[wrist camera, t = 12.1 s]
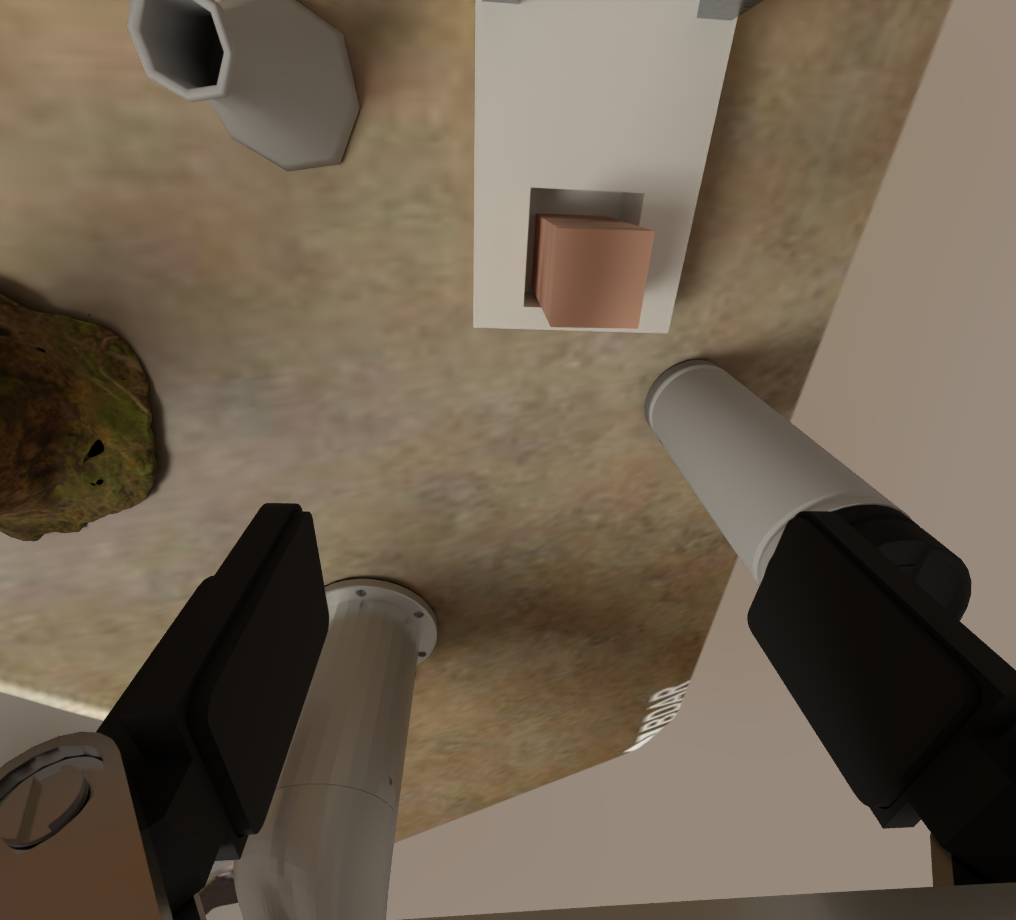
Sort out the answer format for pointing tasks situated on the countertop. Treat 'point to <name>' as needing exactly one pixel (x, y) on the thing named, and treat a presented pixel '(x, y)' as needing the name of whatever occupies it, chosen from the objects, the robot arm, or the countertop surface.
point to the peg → (590, 270)
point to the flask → (255, 72)
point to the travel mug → (781, 479)
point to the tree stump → (69, 424)
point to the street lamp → (702, 8)
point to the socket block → (589, 136)
